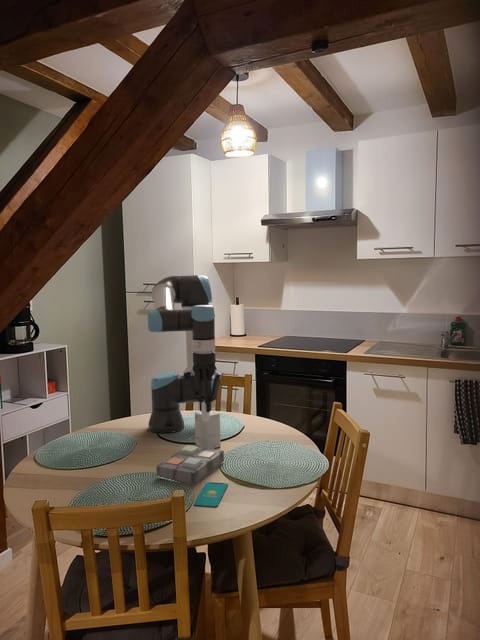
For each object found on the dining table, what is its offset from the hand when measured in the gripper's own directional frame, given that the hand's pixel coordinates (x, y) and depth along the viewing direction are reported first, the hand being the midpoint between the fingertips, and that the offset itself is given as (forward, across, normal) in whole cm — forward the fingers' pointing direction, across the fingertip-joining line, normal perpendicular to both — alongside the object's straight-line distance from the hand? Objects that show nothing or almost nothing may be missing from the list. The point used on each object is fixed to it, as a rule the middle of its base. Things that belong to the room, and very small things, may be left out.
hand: (205, 420), depth 163 cm
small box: (+17, -9, +17) cm, 26 cm away
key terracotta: (+15, -7, -9) cm, 18 cm away
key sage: (+14, -7, 0) cm, 15 cm away
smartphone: (+17, +11, -18) cm, 27 cm away
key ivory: (+15, 0, 0) cm, 15 cm away
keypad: (+16, -3, -5) cm, 17 cm away
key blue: (+14, 0, -9) cm, 16 cm away
